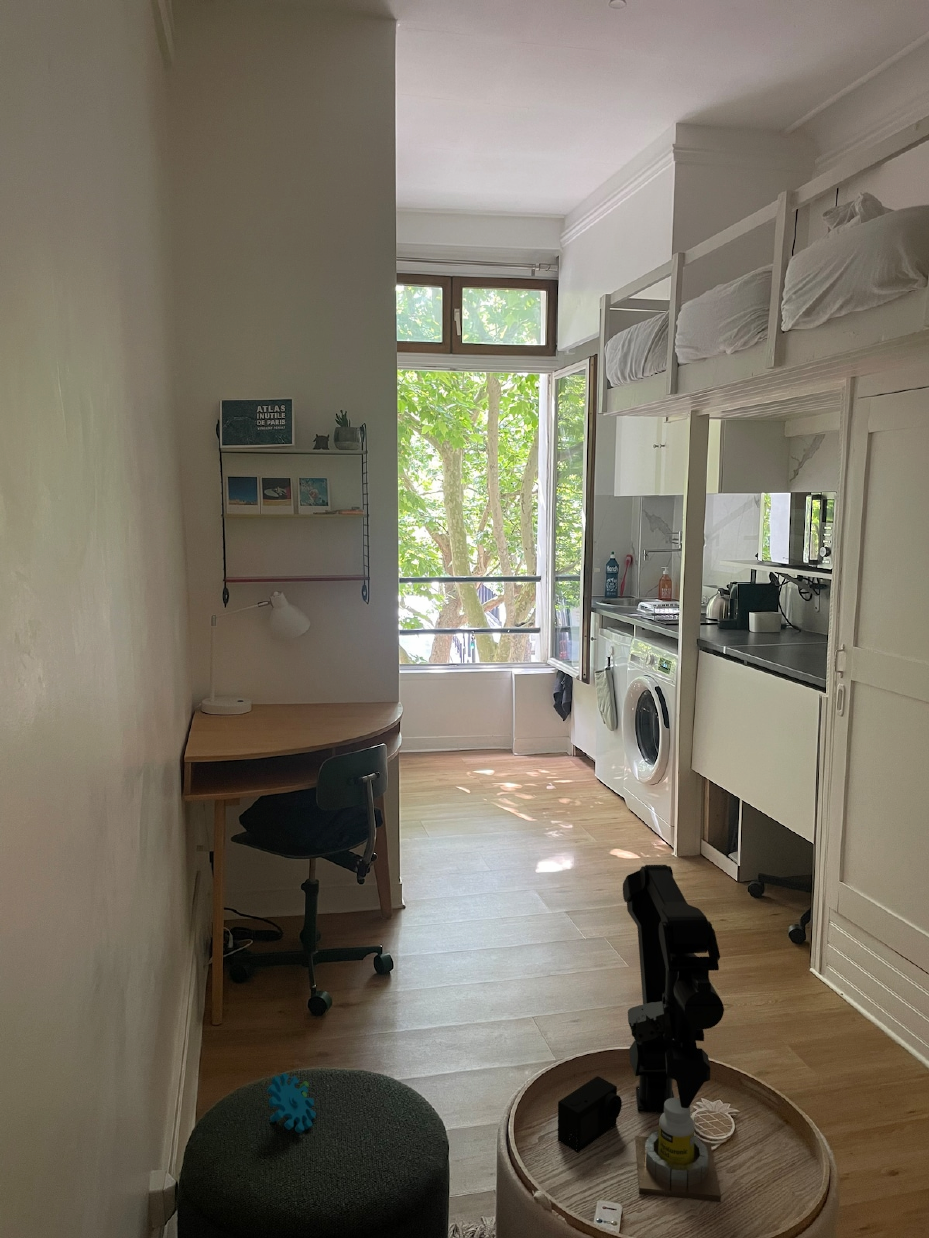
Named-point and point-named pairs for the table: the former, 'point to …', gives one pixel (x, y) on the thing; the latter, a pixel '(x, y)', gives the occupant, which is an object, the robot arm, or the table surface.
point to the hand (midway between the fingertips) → (682, 1088)
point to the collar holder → (676, 1172)
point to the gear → (291, 1102)
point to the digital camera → (588, 1113)
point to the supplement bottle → (676, 1134)
